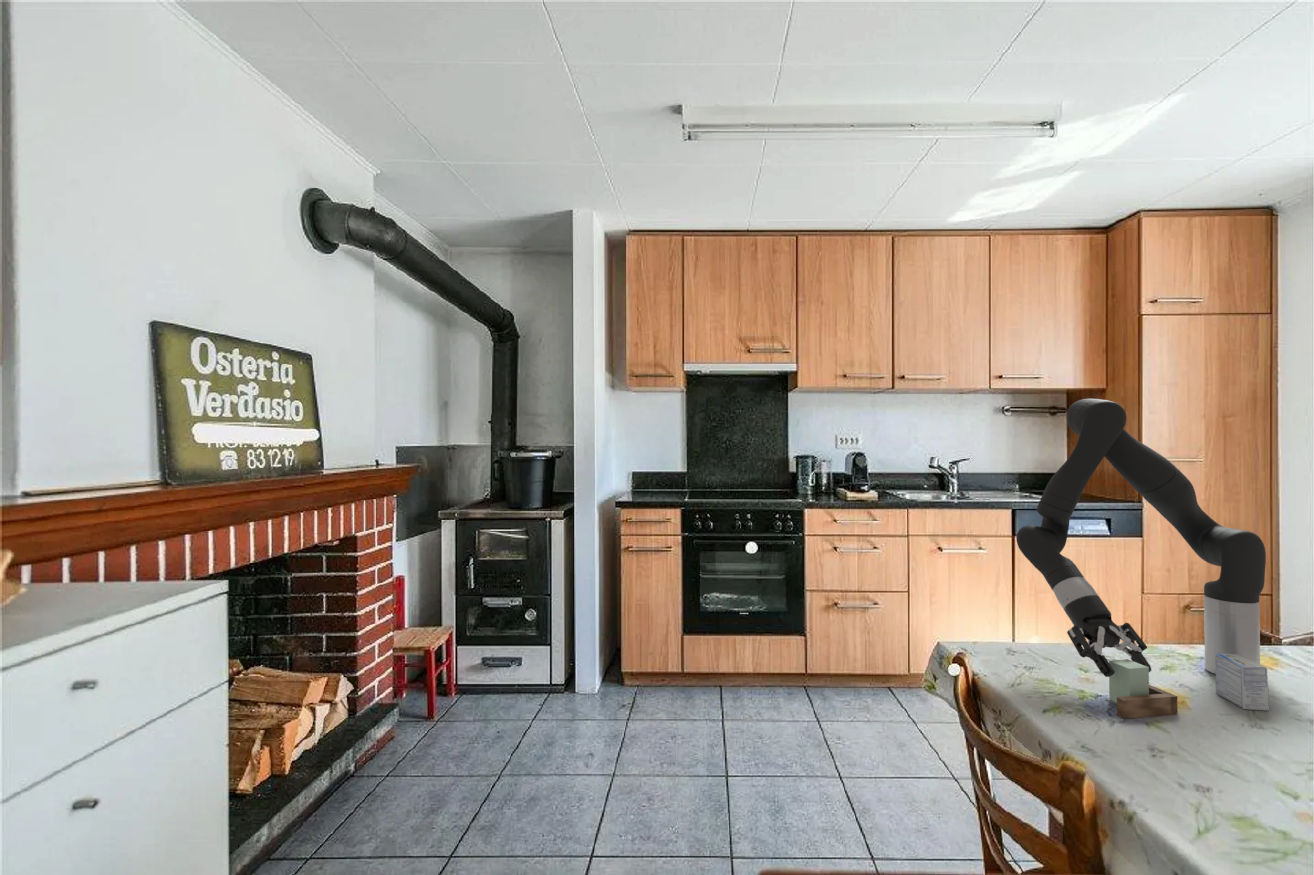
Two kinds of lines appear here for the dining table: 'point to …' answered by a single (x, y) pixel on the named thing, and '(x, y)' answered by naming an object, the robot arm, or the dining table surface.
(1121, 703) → the walnut corner
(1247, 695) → the medicine box
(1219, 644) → the robot arm
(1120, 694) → the sage block
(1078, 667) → the dining table surface
